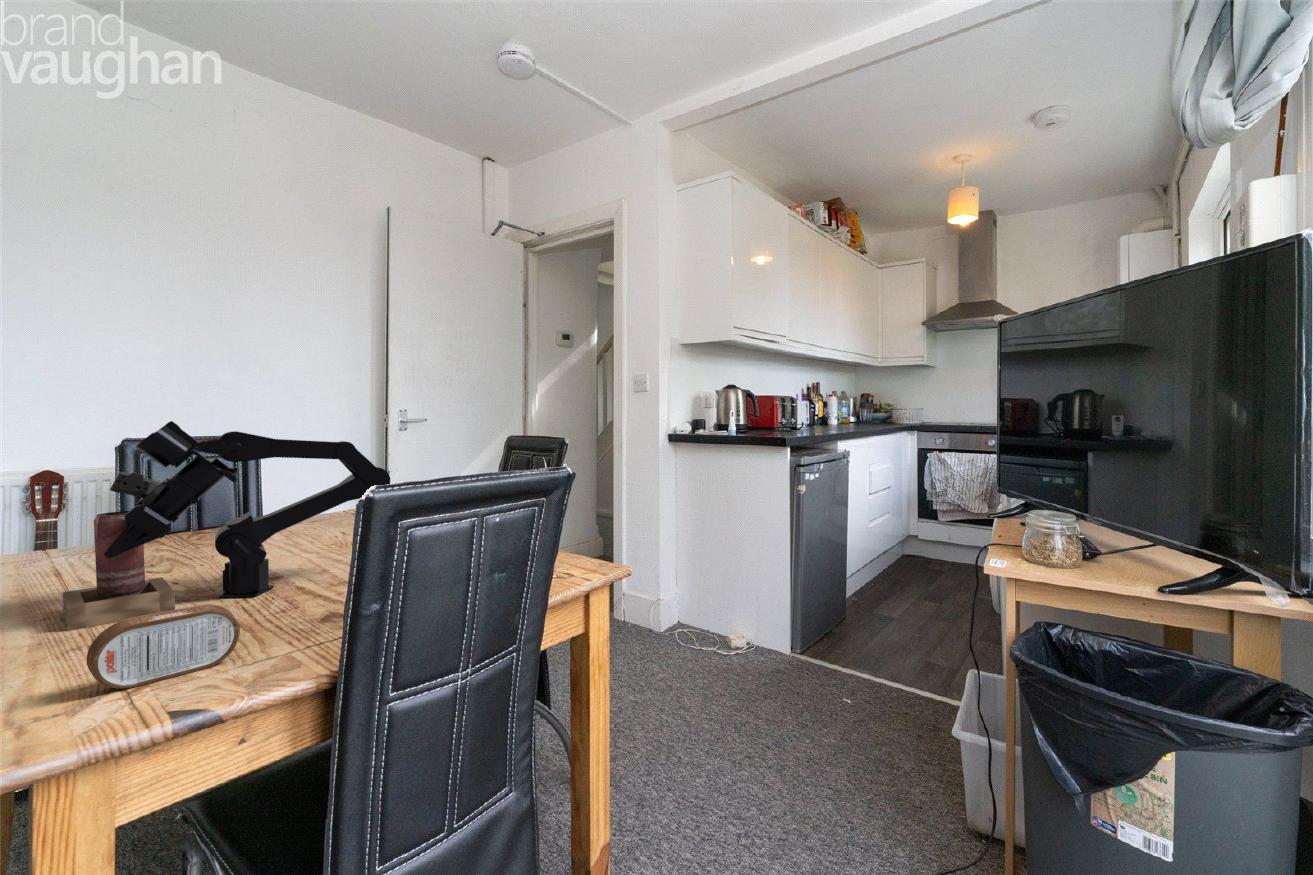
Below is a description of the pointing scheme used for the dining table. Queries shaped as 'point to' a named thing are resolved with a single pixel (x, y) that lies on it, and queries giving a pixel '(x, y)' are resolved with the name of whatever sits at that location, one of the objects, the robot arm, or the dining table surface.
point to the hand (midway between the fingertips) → (108, 553)
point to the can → (116, 559)
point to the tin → (162, 645)
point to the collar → (116, 605)
